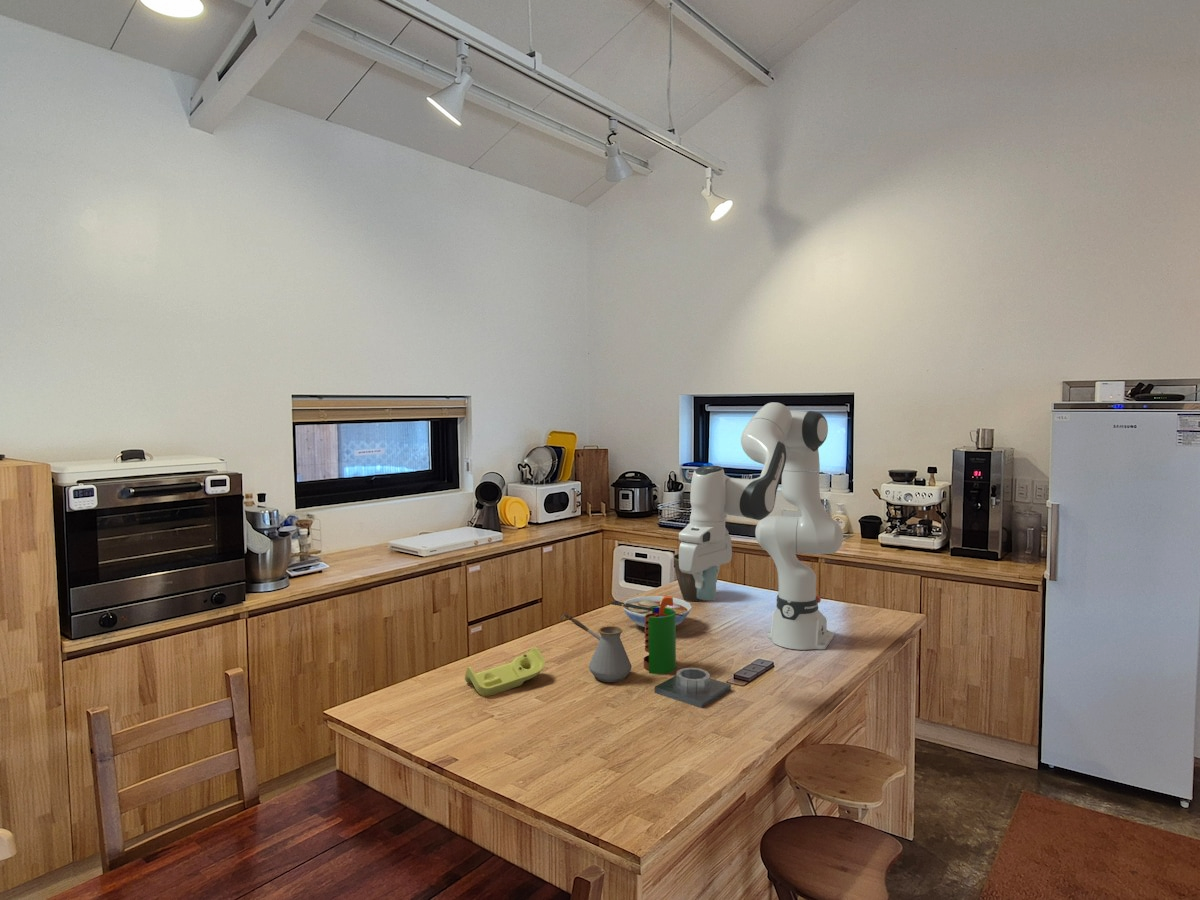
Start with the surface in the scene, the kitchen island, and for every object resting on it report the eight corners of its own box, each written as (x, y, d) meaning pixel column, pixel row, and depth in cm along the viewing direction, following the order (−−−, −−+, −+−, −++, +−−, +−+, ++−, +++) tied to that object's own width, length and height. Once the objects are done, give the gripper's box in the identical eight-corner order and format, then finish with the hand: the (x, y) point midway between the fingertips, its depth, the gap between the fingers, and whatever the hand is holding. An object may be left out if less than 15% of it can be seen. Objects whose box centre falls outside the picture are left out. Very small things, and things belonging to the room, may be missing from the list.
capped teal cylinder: (702, 594, 183) (703, 557, 183) (719, 597, 180) (720, 560, 180) (693, 597, 180) (693, 560, 179) (709, 601, 177) (710, 563, 176)
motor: (641, 661, 204) (641, 592, 202) (672, 660, 204) (672, 591, 203) (646, 674, 194) (647, 602, 192) (679, 673, 194) (679, 601, 193)
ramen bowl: (706, 624, 237) (706, 600, 236) (675, 644, 218) (675, 618, 217) (640, 612, 250) (640, 589, 250) (605, 629, 231) (605, 605, 230)
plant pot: (671, 603, 261) (672, 560, 260) (674, 592, 276) (674, 551, 275) (712, 605, 259) (713, 562, 258) (713, 594, 273) (714, 553, 272)
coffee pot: (639, 674, 194) (639, 620, 193) (617, 688, 184) (618, 631, 183) (573, 658, 205) (573, 607, 204) (550, 671, 195) (550, 617, 194)
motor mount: (684, 676, 193) (685, 660, 192) (730, 690, 184) (731, 673, 183) (654, 692, 182) (654, 675, 182) (701, 707, 173) (701, 689, 173)
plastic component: (482, 690, 177) (466, 662, 184) (478, 711, 180) (463, 683, 187) (551, 668, 188) (533, 642, 195) (546, 688, 191) (529, 662, 198)
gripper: (717, 524, 189) (716, 576, 190) (674, 534, 173) (673, 590, 174) (738, 527, 185) (737, 580, 186) (696, 537, 169) (695, 595, 170)
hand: (706, 585), depth 180 cm, fingers closed on capped teal cylinder, 5 cm apart
